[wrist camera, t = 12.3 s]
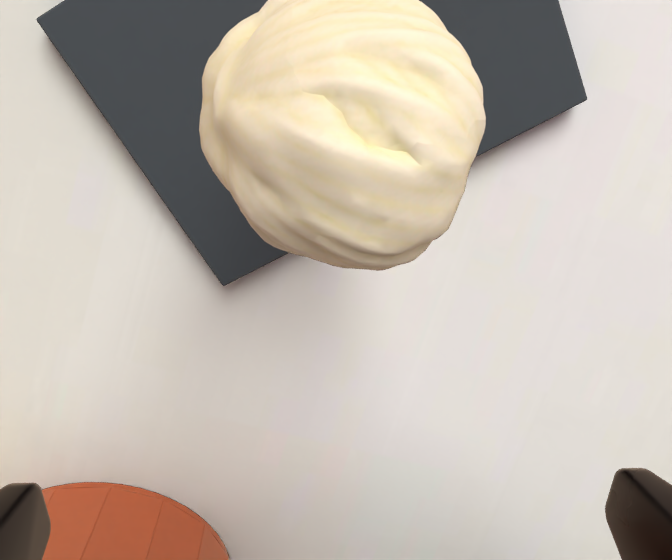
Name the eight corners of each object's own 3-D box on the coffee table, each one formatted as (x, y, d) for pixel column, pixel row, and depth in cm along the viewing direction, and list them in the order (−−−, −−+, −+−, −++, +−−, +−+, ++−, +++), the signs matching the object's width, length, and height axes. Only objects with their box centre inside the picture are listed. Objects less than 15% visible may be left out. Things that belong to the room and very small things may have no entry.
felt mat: (471, -255, 14) (479, -270, 13) (577, 96, 18) (588, 99, 18) (46, 18, 16) (34, 19, 16) (225, 277, 20) (223, 287, 20)
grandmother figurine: (396, 178, 18) (547, 438, 7) (284, 194, 18) (251, 479, 7) (373, -91, 15) (598, -456, 4) (237, -72, 15) (22, -368, 4)
